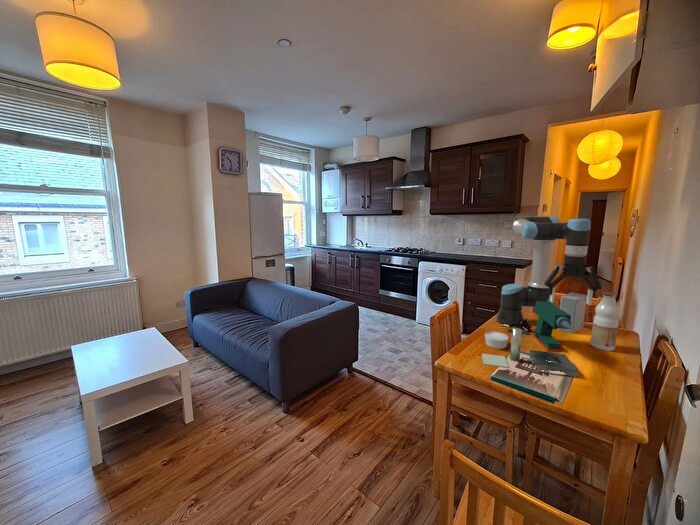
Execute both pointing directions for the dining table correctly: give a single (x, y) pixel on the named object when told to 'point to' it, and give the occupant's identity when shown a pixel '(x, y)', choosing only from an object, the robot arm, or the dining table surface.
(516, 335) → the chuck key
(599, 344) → the fruit juice
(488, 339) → the ramekin
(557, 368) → the plate
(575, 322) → the hard drive box
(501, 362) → the rubber mat
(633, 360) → the dining table surface
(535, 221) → the robot arm
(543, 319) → the power tool
